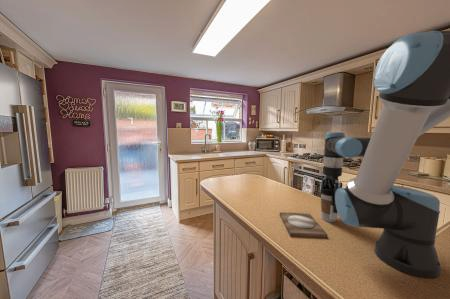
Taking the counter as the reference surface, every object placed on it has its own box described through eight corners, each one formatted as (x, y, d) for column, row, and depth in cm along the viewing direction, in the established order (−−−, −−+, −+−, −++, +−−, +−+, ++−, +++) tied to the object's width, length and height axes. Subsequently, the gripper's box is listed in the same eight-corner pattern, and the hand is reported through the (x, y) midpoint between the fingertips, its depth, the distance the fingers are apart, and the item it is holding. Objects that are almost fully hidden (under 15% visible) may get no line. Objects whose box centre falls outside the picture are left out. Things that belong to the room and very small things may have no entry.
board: (327, 237, 73) (327, 233, 73) (289, 236, 74) (290, 231, 74) (309, 216, 91) (309, 212, 91) (279, 215, 92) (279, 211, 91)
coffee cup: (342, 224, 83) (344, 191, 82) (321, 222, 85) (323, 189, 84) (335, 216, 92) (337, 185, 90) (316, 214, 93) (318, 184, 92)
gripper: (355, 171, 75) (350, 226, 78) (330, 162, 96) (326, 206, 98) (335, 170, 76) (331, 225, 78) (314, 162, 96) (311, 205, 99)
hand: (328, 214), depth 88 cm, fingers closed on coffee cup, 8 cm apart
